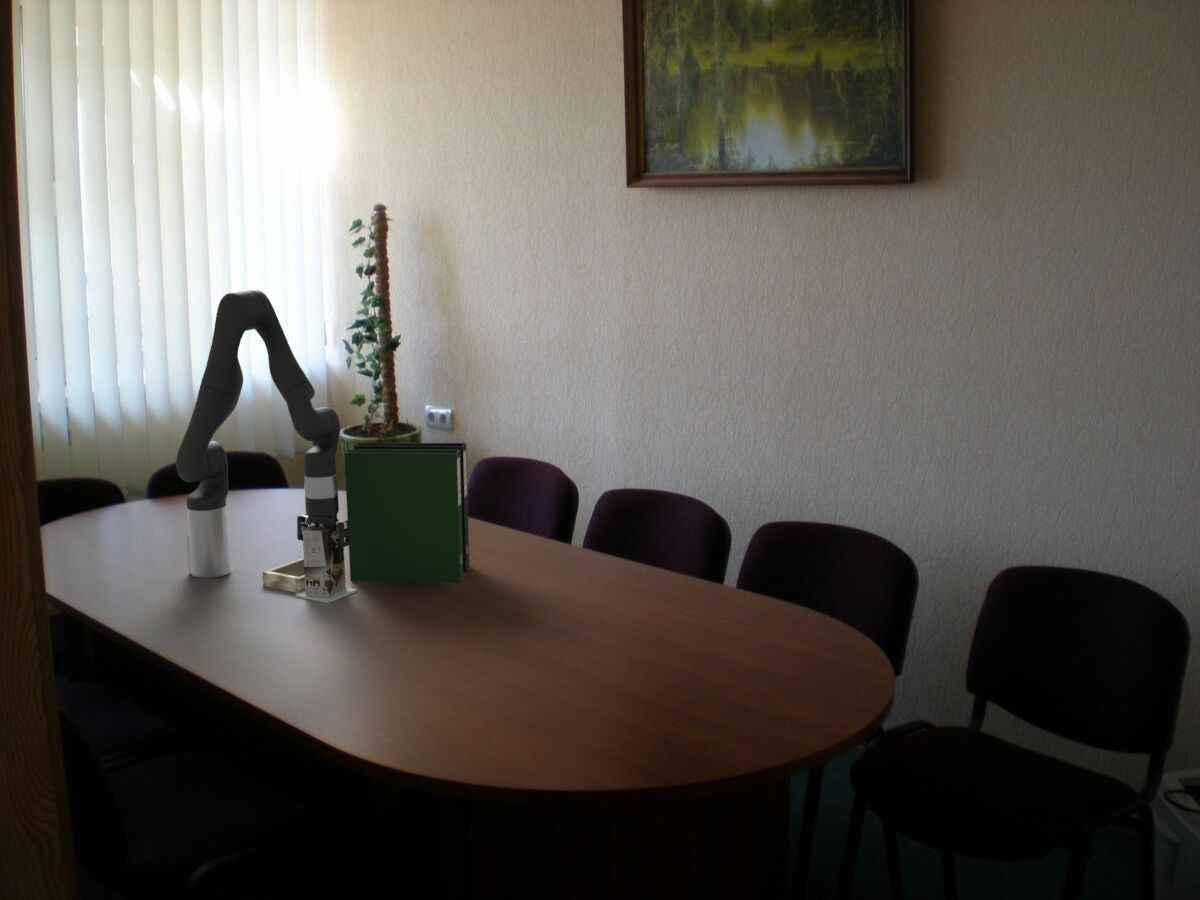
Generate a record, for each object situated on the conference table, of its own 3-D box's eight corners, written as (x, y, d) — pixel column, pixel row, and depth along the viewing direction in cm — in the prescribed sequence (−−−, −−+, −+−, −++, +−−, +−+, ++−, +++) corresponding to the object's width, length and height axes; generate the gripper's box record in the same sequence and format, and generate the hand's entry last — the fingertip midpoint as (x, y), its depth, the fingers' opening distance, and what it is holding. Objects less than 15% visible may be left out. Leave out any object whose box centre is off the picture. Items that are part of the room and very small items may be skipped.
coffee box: (330, 598, 274) (326, 530, 271) (304, 596, 275) (301, 529, 272) (346, 586, 283) (343, 521, 280) (322, 585, 284) (318, 519, 281)
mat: (295, 596, 277) (295, 594, 277) (324, 585, 286) (324, 583, 286) (328, 603, 272) (327, 600, 272) (356, 591, 281) (356, 589, 281)
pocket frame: (263, 585, 286) (262, 572, 285) (306, 570, 298) (305, 557, 298) (299, 593, 280) (299, 578, 279) (342, 576, 293) (341, 563, 292)
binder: (349, 581, 289) (343, 453, 283) (364, 564, 303) (359, 441, 297) (460, 583, 287) (456, 453, 281) (469, 565, 302) (466, 442, 296)
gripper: (287, 493, 275) (290, 561, 278) (333, 500, 268) (337, 569, 271) (309, 487, 281) (313, 553, 284) (355, 493, 274) (358, 561, 277)
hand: (324, 561), depth 277 cm, fingers open, 8 cm apart
